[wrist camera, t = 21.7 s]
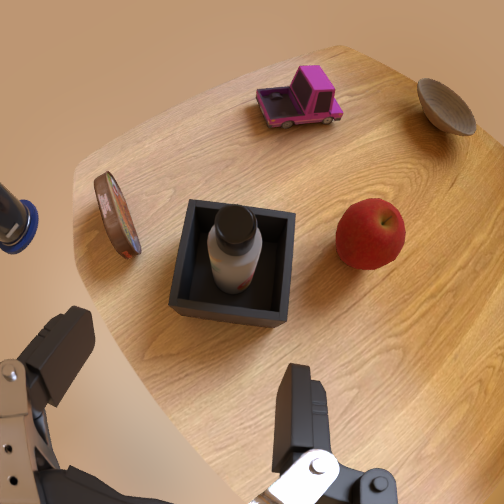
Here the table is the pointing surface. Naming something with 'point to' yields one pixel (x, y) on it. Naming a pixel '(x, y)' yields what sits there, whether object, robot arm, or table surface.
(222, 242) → the lotion bottle
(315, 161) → the table surface
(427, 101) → the bowl
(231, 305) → the bin
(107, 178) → the tin
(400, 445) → the table surface
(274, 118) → the toy truck
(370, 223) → the apple
